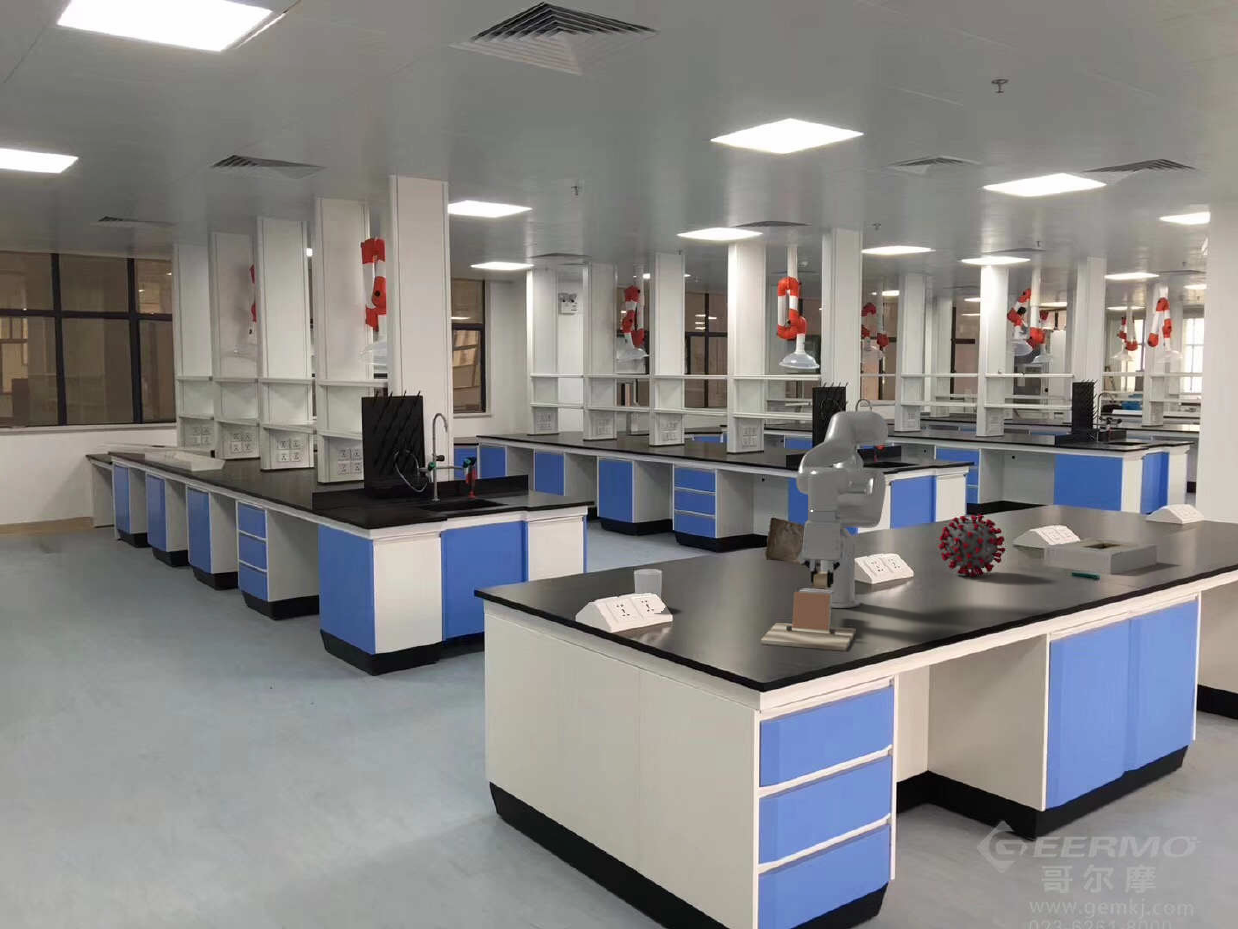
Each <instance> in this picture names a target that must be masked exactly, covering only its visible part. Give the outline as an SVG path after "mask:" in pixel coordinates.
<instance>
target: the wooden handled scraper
mask: <svg viewBox="0 0 1238 929" xmlns="http://www.w3.org/2000/svg"><path fill="white" fill-rule="evenodd" d="M831 587H832V584H831ZM831 587H830V588H831ZM830 588H828V587H827V572H821V571H820V572H818V574H815V575H814V585H813V584H812V588H808V587H807V588H806V587H805V588H802V589H800V590H799V591H798V592H806V593H821V594H833V593H834V592H835V590H828V589H830Z"/></svg>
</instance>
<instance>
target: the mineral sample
mask: <svg viewBox="0 0 1238 929" xmlns="http://www.w3.org/2000/svg"><path fill="white" fill-rule="evenodd" d="M769 523H770V524H769V526H768V527H769V531H767V539H766V542H767V545H766V550H765V558H766V560H770V559H771V560H779V561H785V562H791V563H793V562H794V563H798V564H799V565H802V564H803V563H802V562H800V561H798V560H797V558H798V556H799V554H800V552H801V551H802V548H803V535H804V528H805V524H801V523H798V522H793V521H791V520H787V519H785V518H784V519H783V518H777V517H770V521H769Z"/></svg>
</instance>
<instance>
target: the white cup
mask: <svg viewBox="0 0 1238 929" xmlns="http://www.w3.org/2000/svg"><path fill="white" fill-rule="evenodd" d="M633 576H634V591H635V594H641V593H651V594H656V595H657V596H658V597H659V598H660V600H661V598H662V587H663V586H662V584H663V583H662V582H663V580H662V579H663V571H662V570H660V569H653V568H644V569H643V568H642V569H637V570H634V572H633Z"/></svg>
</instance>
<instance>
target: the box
mask: <svg viewBox="0 0 1238 929" xmlns="http://www.w3.org/2000/svg"><path fill="white" fill-rule="evenodd" d="M1043 551H1044V554H1043V555H1044V565H1045V566H1048V567H1054V568H1055V567H1056V568H1063V569H1067V570H1068V569H1069V570H1075V571H1083V572H1090V573H1094V574H1095V573H1096V574H1102V575H1103V574H1104V575H1110V576H1111V575H1112V576H1113V575H1115V574H1120V573H1124V572H1128V571H1133V570H1136V569H1140V568H1146V567H1150V566H1154V565H1157V556H1158V555H1157V553H1158V552H1157V551H1158V546H1157V545H1156V544H1152V543H1151V544H1145V543H1137V542H1130V541H1129V542H1128V541H1122V540H1121V541H1120V540H1112V539H1102V538H1097V537H1088V538H1083V539H1081V540H1075V541H1070V542H1065V543H1055V544H1049V545H1046V546H1044V550H1043Z"/></svg>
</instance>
